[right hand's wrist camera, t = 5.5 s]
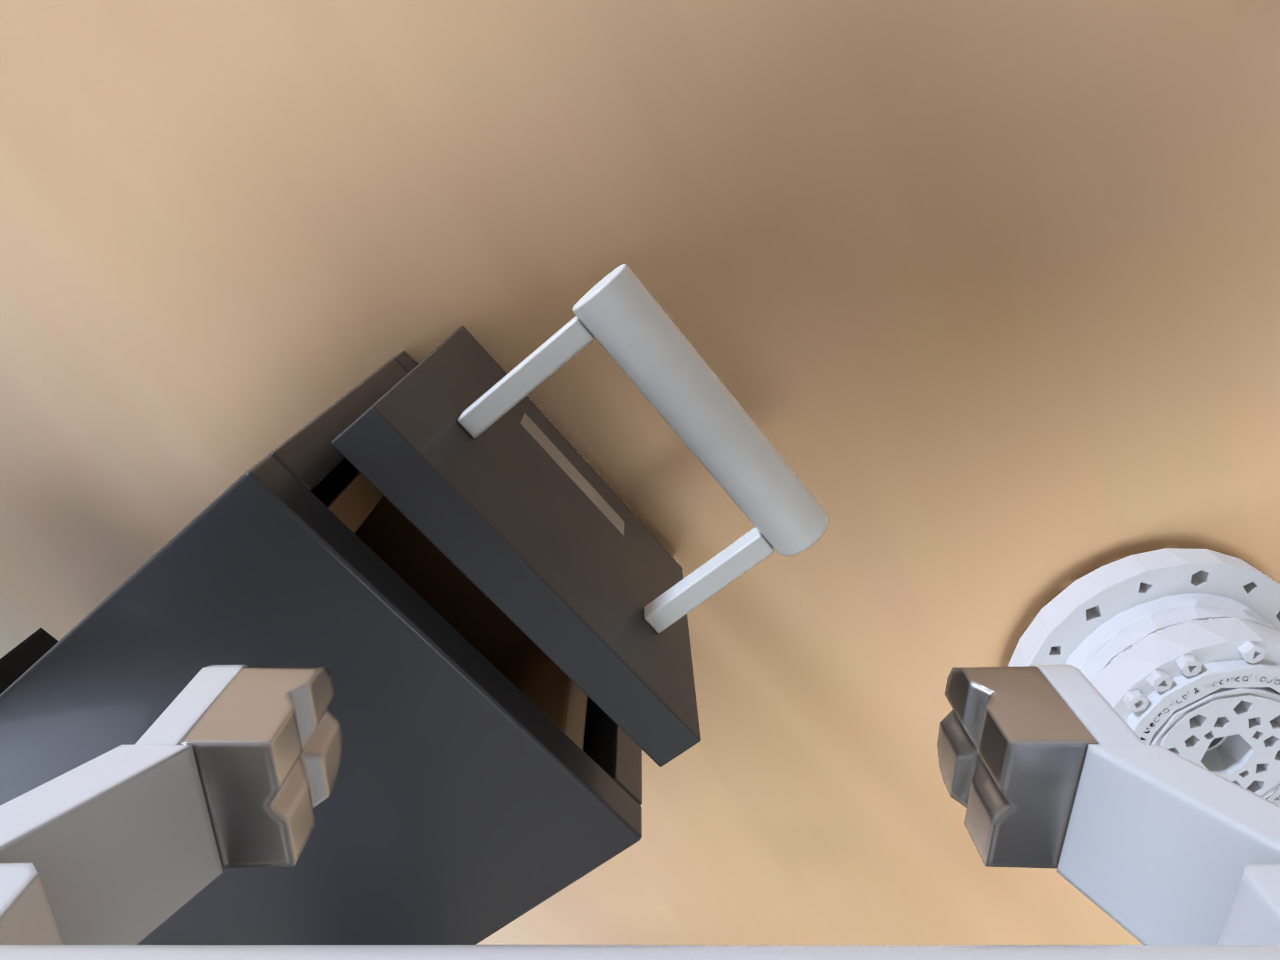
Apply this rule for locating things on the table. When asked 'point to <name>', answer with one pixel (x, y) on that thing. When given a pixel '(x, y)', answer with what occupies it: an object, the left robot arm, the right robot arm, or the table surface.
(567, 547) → the drawer
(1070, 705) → the right robot arm
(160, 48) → the table surface
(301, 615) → the cabinet
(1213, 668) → the mechanical component
